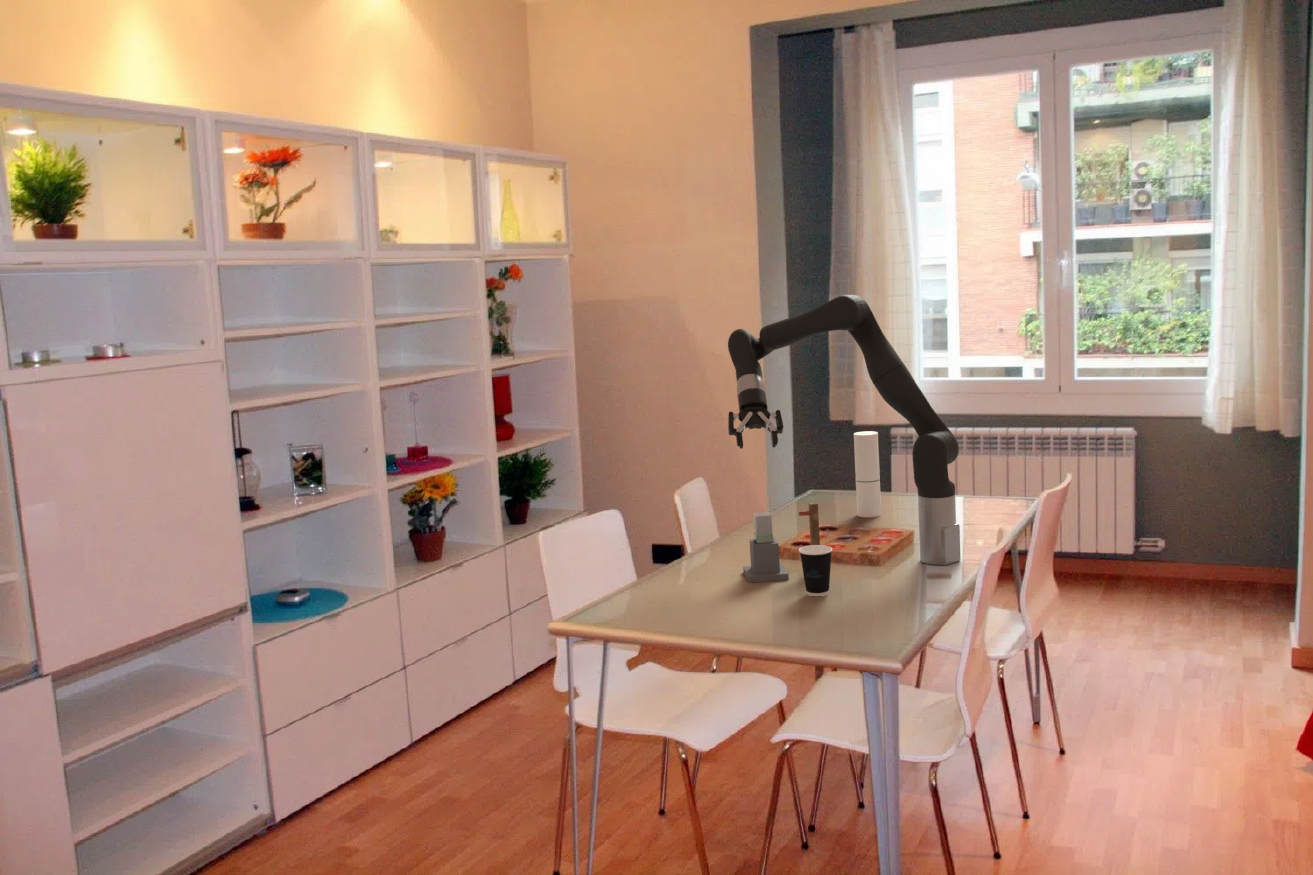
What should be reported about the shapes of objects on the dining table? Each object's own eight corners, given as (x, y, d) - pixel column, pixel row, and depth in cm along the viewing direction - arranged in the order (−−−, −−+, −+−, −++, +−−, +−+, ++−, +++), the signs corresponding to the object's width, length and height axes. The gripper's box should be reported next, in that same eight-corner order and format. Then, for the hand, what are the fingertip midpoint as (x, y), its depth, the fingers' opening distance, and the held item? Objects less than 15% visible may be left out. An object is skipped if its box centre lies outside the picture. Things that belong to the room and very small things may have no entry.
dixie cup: (826, 587, 277) (824, 543, 275) (840, 596, 269) (837, 550, 268) (796, 591, 275) (793, 547, 273) (808, 600, 268) (806, 555, 266)
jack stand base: (782, 568, 296) (780, 534, 294) (788, 579, 286) (786, 544, 284) (743, 572, 295) (741, 538, 294) (748, 582, 285) (746, 547, 284)
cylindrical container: (879, 511, 351) (876, 430, 347) (882, 516, 344) (878, 434, 340) (856, 512, 352) (852, 432, 348) (858, 517, 345) (854, 435, 341)
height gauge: (822, 568, 293) (819, 501, 290) (825, 573, 289) (822, 504, 286) (800, 570, 293) (797, 502, 290) (803, 574, 289) (800, 506, 286)
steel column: (772, 565, 292) (769, 511, 290) (774, 569, 288) (771, 515, 286) (755, 566, 292) (752, 512, 290) (758, 570, 288) (755, 516, 286)
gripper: (726, 388, 303) (731, 439, 294) (779, 386, 304) (787, 437, 295) (724, 403, 309) (729, 455, 301) (776, 402, 310) (783, 453, 302)
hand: (758, 446), depth 298 cm, fingers open, 8 cm apart
